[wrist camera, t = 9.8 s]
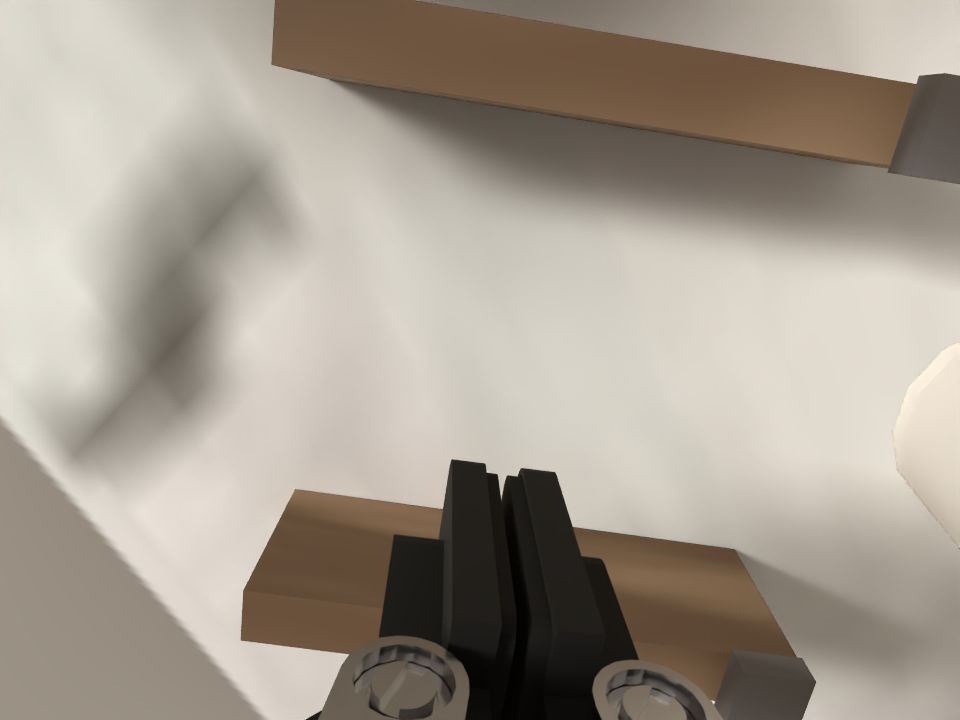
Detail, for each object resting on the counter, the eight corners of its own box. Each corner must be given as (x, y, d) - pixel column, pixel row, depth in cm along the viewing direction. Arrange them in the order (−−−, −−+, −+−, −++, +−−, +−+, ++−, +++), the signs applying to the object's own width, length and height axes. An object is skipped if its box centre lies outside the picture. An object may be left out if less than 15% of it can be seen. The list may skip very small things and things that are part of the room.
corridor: (720, 592, 23) (794, 739, 18) (291, 535, 23) (229, 668, 17) (874, 97, 18) (1040, 89, 13) (332, 8, 18) (264, -41, 12)
